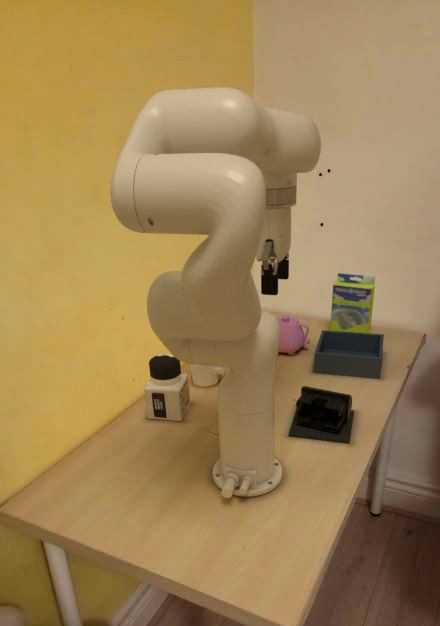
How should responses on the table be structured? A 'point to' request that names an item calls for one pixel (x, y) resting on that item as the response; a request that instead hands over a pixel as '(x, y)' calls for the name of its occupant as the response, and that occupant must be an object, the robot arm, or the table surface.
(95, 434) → the table surface
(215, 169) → the robot arm
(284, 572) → the table surface
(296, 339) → the teapot
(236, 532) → the table surface
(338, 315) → the box
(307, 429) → the mat
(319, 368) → the bin
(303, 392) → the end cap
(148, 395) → the container
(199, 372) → the mug
